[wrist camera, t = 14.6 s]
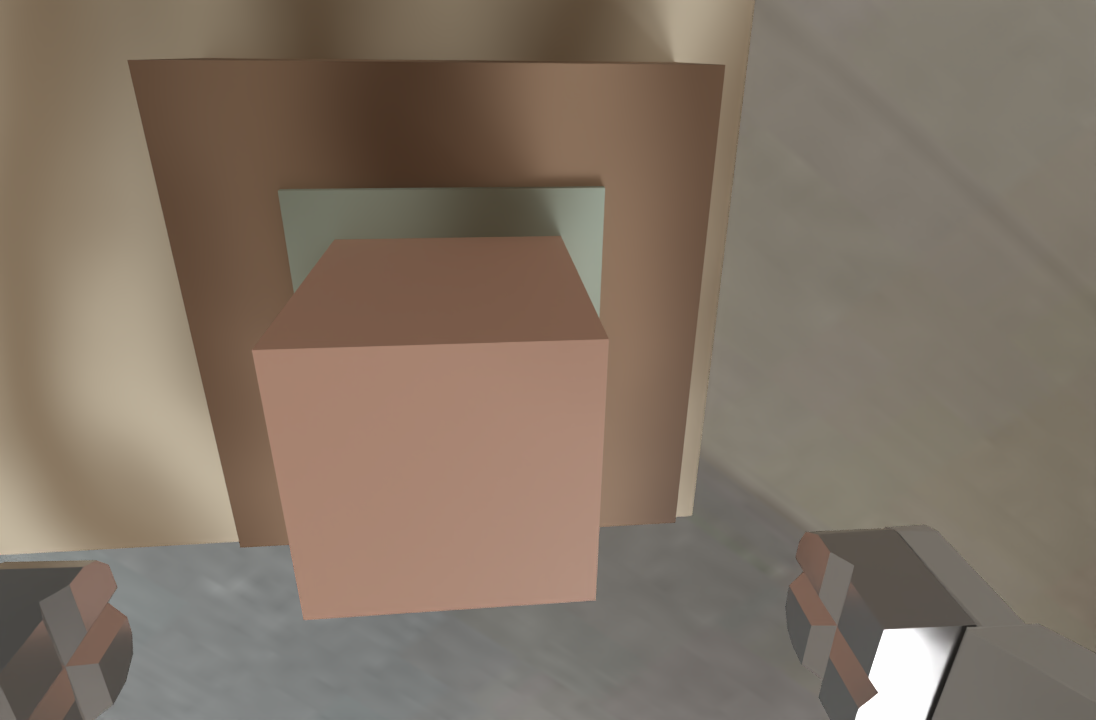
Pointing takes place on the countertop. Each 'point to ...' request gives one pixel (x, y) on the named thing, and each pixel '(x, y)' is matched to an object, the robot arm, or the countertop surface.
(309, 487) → the terracotta block
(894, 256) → the countertop surface
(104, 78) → the build board
